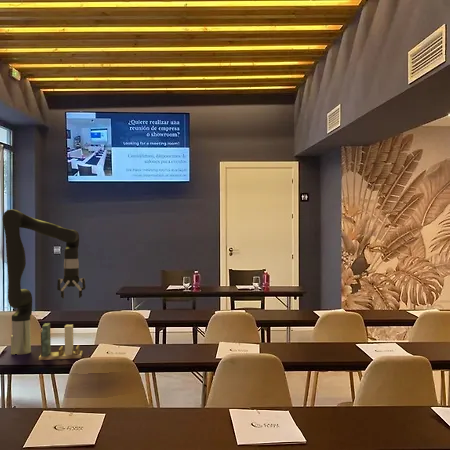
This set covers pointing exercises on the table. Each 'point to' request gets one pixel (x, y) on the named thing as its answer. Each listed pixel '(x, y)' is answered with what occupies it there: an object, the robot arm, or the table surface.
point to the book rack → (46, 347)
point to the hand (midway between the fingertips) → (71, 298)
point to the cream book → (68, 339)
